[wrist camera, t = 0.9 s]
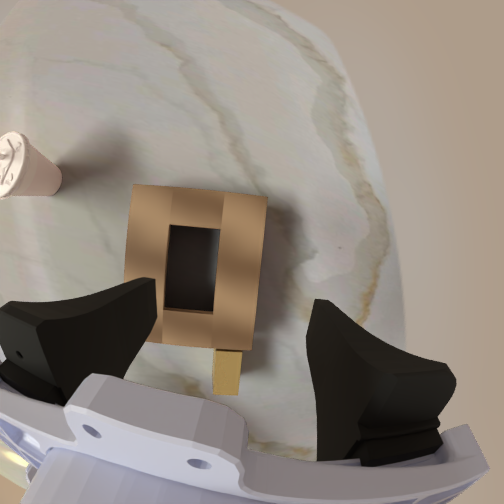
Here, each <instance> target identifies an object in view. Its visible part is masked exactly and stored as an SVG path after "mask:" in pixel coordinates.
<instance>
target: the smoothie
mask: <svg viewBox="0 0 504 504" xmlns="http://www.w3.org/2000/svg"><path fill="white" fill-rule="evenodd" d="M61 182H62V173H61V170H60V169H59V168H58V167H57V166H56V165H54V164H53V163H52V162H51V161H50V160H48V159H47V158H46V157H45V156H43V155H42V154H41V153H40V152H39V151H38V150H36V149H35V148H34V147H33V146H32V145H31V144H30V143H29V141H28V138H27V137H26V136H25V135H23V134H20V133H19V132H16V131H12V132H8V133H6V134H5V135H3V136H2V137H1V138H0V199H6V198H9V197H10V196H51V195H53V194H55V193H56V192H57V191H58V189H59V187H60V185H61Z"/></svg>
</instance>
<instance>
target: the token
mask: <svg viewBox="0 0 504 504" xmlns="http://www.w3.org/2000/svg"><path fill="white" fill-rule="evenodd" d="M241 360H242V350H231V349H214V354H213V370H212V381H213V394H215V395H238V390H239V380H240V370H241Z"/></svg>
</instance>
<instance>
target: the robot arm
mask: <svg viewBox="0 0 504 504" xmlns="http://www.w3.org/2000/svg"><path fill="white" fill-rule="evenodd" d="M157 317H158V315H157V299H156V279H154V278H148V277H141V278H137V279H134V280H131V281H128V282H126V283H123V284H120V285H117V286H115V287H112V288H109V289H106V290H103V291H100V292H97V293H94V294H91V295H87V296H83V297H79V298H74V299H68V300H61V301H54V302H19V301H10V302H8V303H6V304H5V305H4V306H2V307H1V308H0V345H1V347H2V350H3V352H4V354H5V357H6V360H5V361H4V362H3V363H2V362H1V360H0V439H1V440H2V441H3V442H4V443H5V444H7V445H8V446H9V447H10V448H11V449H12V450H14V451H15V452H16V453H17V454H18V455H20V456H21V457H22V458H23V459H25V460H26V461H27V462H28V463H29V465H28V466H27V468H26V480H27V482H28V484H29V487H28V488H27V490H26V492H25V494H24V496H23V498H22V499H21V501H20V503H19V504H446V503H448V502H450V501H451V500H453V499H454V498H456V497H457V496H458V495H460V494H461V493H462V492H464V491H465V490H467V489H468V488H469V487H470V486H472V485H473V484H474V483H475V482H477V481H478V480H479V479H480V478H481V477H483V476H484V475H485V474H486V473H487V472H488V471H489V469H490V468H489V466H488V464H487V461H486V459H485V457H484V455H483V453H482V451H481V449H480V447H479V445H478V443H477V441H476V439H475V437H474V435H473V433H472V431H471V430H470V428H469V426H468V424H464V425H461V426H458V427H455V428H451V429H449V430H446V431H444V432H443V433H441V434H439V432H438V430H437V428H438V427H439V426H440V421H439V419H438V415H439V414H440V413H441V411H442V410H443V409H444V407H445V406H446V404H447V403H448V401H449V400H450V398H451V397H452V395H453V393H454V391H455V387H456V378H455V376H454V375H453V373H452V372H451V370H450V369H449V367H448V366H447V364H445V363H441V362H437V361H433V360H428V359H424V358H421V357H418V356H415V355H412V354H409V353H407V352H405V351H402V350H400V349H398V348H396V347H393V346H391V345H389V344H387V343H385V342H384V341H382V340H380V339H379V338H377V337H375V336H374V335H372V334H370V333H369V332H368V331H366V330H365V329H363V328H362V327H361V326H359V325H358V324H357V323H355V322H354V321H353V320H352V319H351V318H349V317H348V316H347V315H346V314H345V313H343V312H342V311H341V310H340V309H339V308H338V307H337V306H335V305H334V304H333V303H332V302H330V301H329V300H322V299H315V300H314V305H313V309H312V314H311V318H310V322H309V326H308V330H307V334H306V348H307V357H308V362H309V367H310V372H311V377H312V382H313V387H314V392H315V399H316V413H317V462H311V461H304V460H298V459H293V458H287V457H282V456H278V455H273V454H268V453H264V452H260V451H256V450H252V449H248V448H247V445H248V435H249V430H248V427H247V424H246V421H245V419H244V418H243V417H241V416H240V415H239V414H237V413H236V412H235V411H233V410H232V409H231V408H229V407H228V406H226V405H223V404H220V403H217V402H214V401H211V400H207V399H204V398H198V397H193V396H188V395H183V394H178V393H174V392H169V391H165V390H161V389H157V388H153V387H149V386H145V385H141V384H138V383H134V382H131V381H127V380H124V379H123V378H124V376H125V374H126V372H127V370H128V368H129V366H130V364H131V363H132V361H133V360H134V358H135V357H136V355H137V353H138V352H139V350H140V349H141V347H142V346H143V344H144V343H145V341H146V339H147V338H148V336H149V335H150V333H151V331H152V329H153V327H154V324H155V322H156V320H157Z"/></svg>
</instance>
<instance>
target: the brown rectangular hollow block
mask: <svg viewBox="0 0 504 504" xmlns="http://www.w3.org/2000/svg"><path fill="white" fill-rule="evenodd" d="M267 198H268V197H264V196H256V195H248V194H240V193H231V192H222V191H213V190H203V189H192V188H181V187H168V186H154V185H139V184H133V189H132V196H131V203H130V211H129V220H128V230H127V240H126V253H125V270H124V283H126V282H128V281H131V280H134V279H137V278H141V277H148V278H154V279H156V299H157V315H158V317H157V320H156V322H155V324H154V327H153V329H152V331H151V333H150V335H149V336H148V338H147V339H146V342H154V343H162V344H170V345H179V346H190V347H201V348H214V349H231V350H252V342H253V333H254V324H255V315H256V306H257V297H258V287H259V278H260V268H261V258H262V248H263V239H264V229H265V219H266V208H267ZM171 225H179V226H189V227H200V228H210V229H220V240H219V250H218V260H217V271H216V283H215V295H214V307H213V312H209V311H198V310H187V309H177V308H168V307H165V290H166V274H167V260H168V248H169V237H170V227H171Z"/></svg>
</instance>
